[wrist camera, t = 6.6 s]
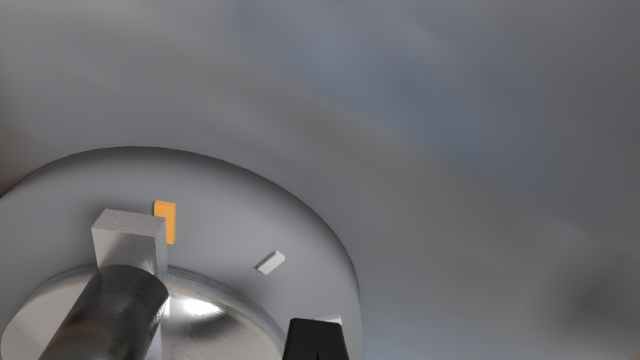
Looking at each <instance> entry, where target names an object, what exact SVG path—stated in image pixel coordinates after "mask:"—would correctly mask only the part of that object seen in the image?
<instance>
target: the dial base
mask: <svg viewBox="0 0 640 360" xmlns="http://www.w3.org/2000/svg"><path fill="white" fill-rule="evenodd" d="M105 209H113V210H119V211H126V212H133V213H139V214H146V215H153V216H159V217H166V242H167V267H171V268H177V269H181V270H184V271H188V272H192V273H195V274H199V275H201V276H204V277H207V278H209V279H212V280H215V281H217V282H220V283H222V284H224V285H226V286H228V287H230V288H232V289H234V290H236V291H238V292H239V293H241V294H243V295H244V296H246V297H248V298H249V299H251V300H252V301H253V302H255V303H256V304H257V305H259V306H260V307H261V308H263V309H264V310H265V311H266V312H267V313H268V314H269V315H270V316H271V317H272V318H273V319H274V320H275V321H276V323H277V324H278V325H279V326H280V328H281V329H282V330H283V332H284V334H285V336H286V338H287V333H288V328H289V323H290V320H291V319H293V318H303V319H311V320H319V321H328V322H336V323H339V324H340V325H341V326H342V331H343V336H344V340H345V344H346V348H347V352H348V356H349V360H362V356H363V350H364V343H363V329H362V318H361V306H360V294H359V283H358V279H357V276H356V272H355V268H354V265H353V263H352V261H351V259H350V257H349V255H348V253H347V251H346V249H345V247H344V246H343V244H342V243H341V241H340V240H339V238H338V237H337V235H336V234H335V233H334V231H333V230H332V229H331V228H330V227H329V226H328V225H327V224H326V223H325V222H324V220H323V219H322V218H321V217H320V216H319V215H318V214H317V213H316V212H314V211H313V210H312V209H311V208H310V207H308V206H307V205H306V204H305V203H304V202H302V201H301V200H300V199H299V198H297V197H296V196H294V195H293V194H291V193H290V192H288V191H286V190H285V189H283V188H282V187H280V186H279V185H277V184H276V183H274V182H272V181H270V180H268V179H266V178H264V177H262V176H260V175H258V174H256V173H254V172H252V171H250V170H247V169H244V168H242V167H239V166H236V165H234V164H231V163H228V162H226V161H223V160H220V159H216V158H212V157H208V156H204V155H200V154H196V153H193V152H188V151H181V150H174V149H167V148H160V147H133V146H125V147H114V148H103V149H95V150H91V151H86V152H82V153H77V154H73V155H69V156H67V157H64V158H61V159H59V160H56V161H53V162H51V163H48V164H46V165H44V166H42V167H41V168H39V169H37V170H36V171H34V172H32V173H30V174H29V175H27V176H26V177H25V178H23V179H22V180H21V181H20V182H19V183H18V184H17V185H15V186H14V187H13V188H12V189H11V190H10V191H8V192H7V193H6V194H5V195H4V196H3V197H2V198H0V346H1V340H2V335H3V333H4V331H5V329H6V327H7V326H8V324H9V323H10V322H11V320H12V319H13V318H14V317H15V315H16V314H17V313H18V311H19V310H20V309H21V308H22V306H23V305H24V304H25V302H26V301H27V300H28V299H29V297H30V296H31V295H32V294H33V293H34V292H35V290H36V289H37V288H39V287H40V286H41V285H42V284H44V283H45V282H46V281H48V280H50V279H52V278H54V277H56V276H57V275H59V274H61V273H64V272H67V271H70V270H73V269H76V268H80V267H85V266H90V265H95V264H97V259H96V253H95V247H94V242H93V236H92V230H91V227H92V226H93V225H94V223H95V222H96V221H97V219H98V218H99V217H100V215H101V214H102V213H103V211H104V210H105ZM0 360H2V357H1V347H0Z"/></svg>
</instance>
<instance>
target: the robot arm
mask: <svg viewBox="0 0 640 360" xmlns="http://www.w3.org/2000/svg"><path fill="white" fill-rule="evenodd" d="M282 360H349V356H348V352H347V348H346V344H345V340H344V336H343V331H342V326H341V325H340V324H339V323H336V322H328V321H319V320H311V319H303V318H293V319H291V320H290V323H289V328H288V333H287V338H286V342H285V347H284V352H283V357H282Z"/></svg>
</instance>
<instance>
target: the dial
mask: <svg viewBox="0 0 640 360" xmlns="http://www.w3.org/2000/svg"><path fill="white" fill-rule="evenodd" d="M91 230H92V236H93V242H94V247H95V253H96V259H97V264H95V265H90V266H85V267H80V268H76V269H73V270H70V271H67V272H64V273H61V274H59V275H57V276H56V277H54V278H52V279H50V280H48V281H46V282H45V283H44V284H42V285H41V286H40V287H39V288H37V289H36V290H35V292H34V293H33V294H32V295H31V296H30V297H29V299H28V300H27V301H26V302H25V304H24V305H23V306H22V308H21V309H20V310H19V311H18V313H17V314H16V315H15V317H14V318H13V319H12V320H11V322H10V323H9V324H8V326H7V327H6V329H5V331H4V333H3V335H2V340H1V346H0V347H1V357H2V360H282V357H283V352H284V347H285V342H286V336H285V334H284V332H283V330H282V329H281V328H280V326H279V325H278V324H277V323H276V321H275V320H274V319H273V318H272V317H271V316H270V315H269V314H268V313H267V312H266V311H265V310H264V309H263V308H261V307H260V306H259V305H257V304H256V303H255V302H253V301H252V300H251V299H249V298H248V297H246V296H244V295H243V294H241V293H239V292H238V291H236V290H234V289H232V288H230V287H228V286H226V285H224V284H222V283H220V282H217V281H215V280H212V279H209V278H207V277H204V276H201V275H199V274H195V273H192V272H188V271H184V270H181V269H177V268H171V267H167V242H166V217H159V216H153V215H146V214H139V213H133V212H126V211H119V210H113V209H105V210H104V211H103V213H102V214H101V215H100V217H99V218H98V219H97V221H96V222H95V223H94V225H93V226H92V227H91Z"/></svg>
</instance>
